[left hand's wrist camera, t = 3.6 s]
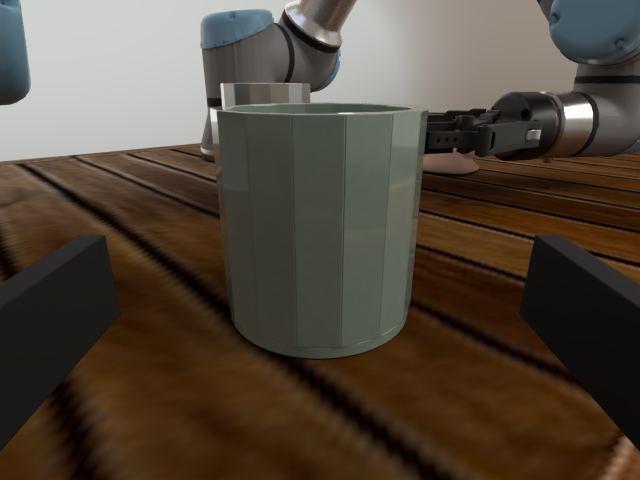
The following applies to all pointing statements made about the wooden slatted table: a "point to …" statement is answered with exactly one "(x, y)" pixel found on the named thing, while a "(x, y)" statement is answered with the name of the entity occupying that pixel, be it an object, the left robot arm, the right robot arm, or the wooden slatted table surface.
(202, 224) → the wooden slatted table surface
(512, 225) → the wooden slatted table surface
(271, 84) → the tumbler
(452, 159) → the anatomical model
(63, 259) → the left robot arm
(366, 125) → the pot
